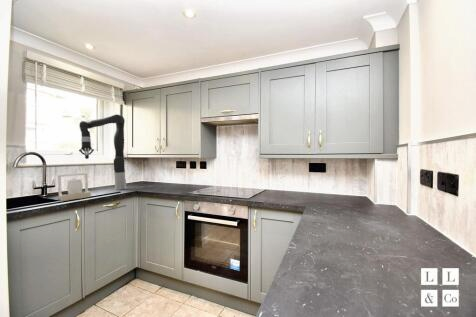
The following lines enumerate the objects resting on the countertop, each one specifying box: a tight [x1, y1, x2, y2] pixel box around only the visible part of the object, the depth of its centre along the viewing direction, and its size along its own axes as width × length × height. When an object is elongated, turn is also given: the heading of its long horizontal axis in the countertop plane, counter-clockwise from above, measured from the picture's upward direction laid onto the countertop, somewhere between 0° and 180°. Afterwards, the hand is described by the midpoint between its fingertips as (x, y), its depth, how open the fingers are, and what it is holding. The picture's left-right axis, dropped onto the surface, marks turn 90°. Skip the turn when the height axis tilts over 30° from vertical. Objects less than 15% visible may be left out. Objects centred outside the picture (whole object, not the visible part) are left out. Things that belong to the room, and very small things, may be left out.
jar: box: [66, 178, 84, 195], centre depth 179 cm, size 11×10×15 cm
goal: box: [57, 172, 92, 201], centre depth 178 cm, size 14×20×20 cm
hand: (87, 158), depth 212 cm, fingers closed
